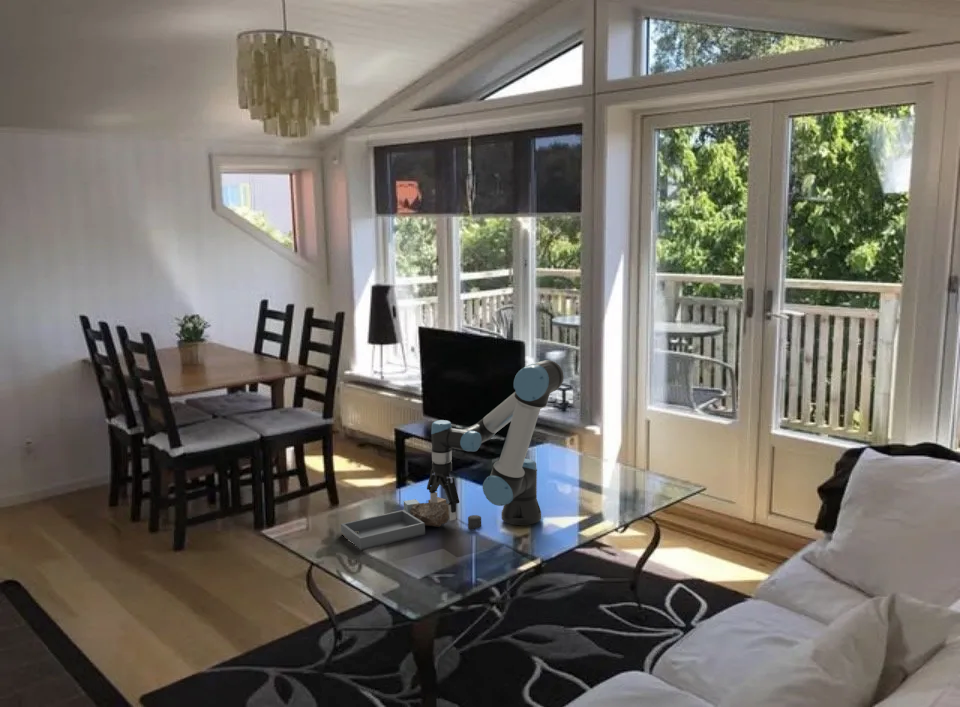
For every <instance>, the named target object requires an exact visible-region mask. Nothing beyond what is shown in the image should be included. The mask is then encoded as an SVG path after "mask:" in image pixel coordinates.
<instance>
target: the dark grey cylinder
mask: <svg viewBox="0 0 960 707" xmlns="http://www.w3.org/2000/svg"><path fill="white" fill-rule="evenodd" d="M467 527H468V528H467V529H469V530H471V531H472V530H475V529H478V528H480V527H482V517H481V515H479V514H478V515H477V514H475V515H473V514H472V515H469V516H468V517H467ZM475 531H476V530H475Z"/></svg>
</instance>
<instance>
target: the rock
mask: <svg viewBox="0 0 960 707" xmlns="http://www.w3.org/2000/svg"><path fill="white" fill-rule="evenodd" d="M410 513H411V514H412V515H413V516H414V517H416V518H417V519H419V520H421V521H422V522H424V523H425V526H430V527H437V528H440V527H441V526H442V525H444V524H447V523H448V522H449V503H447V502H446V503H442V502H432V503H428V502H422V503H421V502H419V503H417V504H414V505H413V506H412V508H411V510H410Z"/></svg>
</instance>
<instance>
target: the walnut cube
mask: <svg viewBox="0 0 960 707" xmlns="http://www.w3.org/2000/svg"><path fill="white" fill-rule="evenodd" d="M437 502H442V503H446V504H447V499H446V498H442V497H439V496H437ZM427 503H431V502H430V499H428V500H427Z"/></svg>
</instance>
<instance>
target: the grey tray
mask: <svg viewBox="0 0 960 707" xmlns="http://www.w3.org/2000/svg"><path fill="white" fill-rule="evenodd" d="M355 531H359V533H358V532H357V533H358V534H357V533H356V532H355ZM341 532H342V533H343V534H344V535H345V536H346V537H347V538H348V539H349V540H350V541H351V542H353V543H354V544H355V545H356V546H357V547H358V548H359V549H360V551H362V550H361V549H365V550H368V549H372V548H376V547H381V546H384V545H385V546H386V545H388V544H393V543H397V542H400V541H404V540H409V539H412V538H417V537H420V536H424V535H426V525H425V523H424V522H422V521H421V520H419V519H417V518H416V517H414V516H413V515H411V514H409V513H408V512H406V511H404V509H401V510H397V511H392V512H388V513H384V514H379V515H374V516H370V517H367V518H366V517H365V518H361V519H357V520H352V521H348V522H342V523H340V533H341ZM357 547H356V548H357ZM358 548H357V549H358ZM359 549H358V550H359Z"/></svg>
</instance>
